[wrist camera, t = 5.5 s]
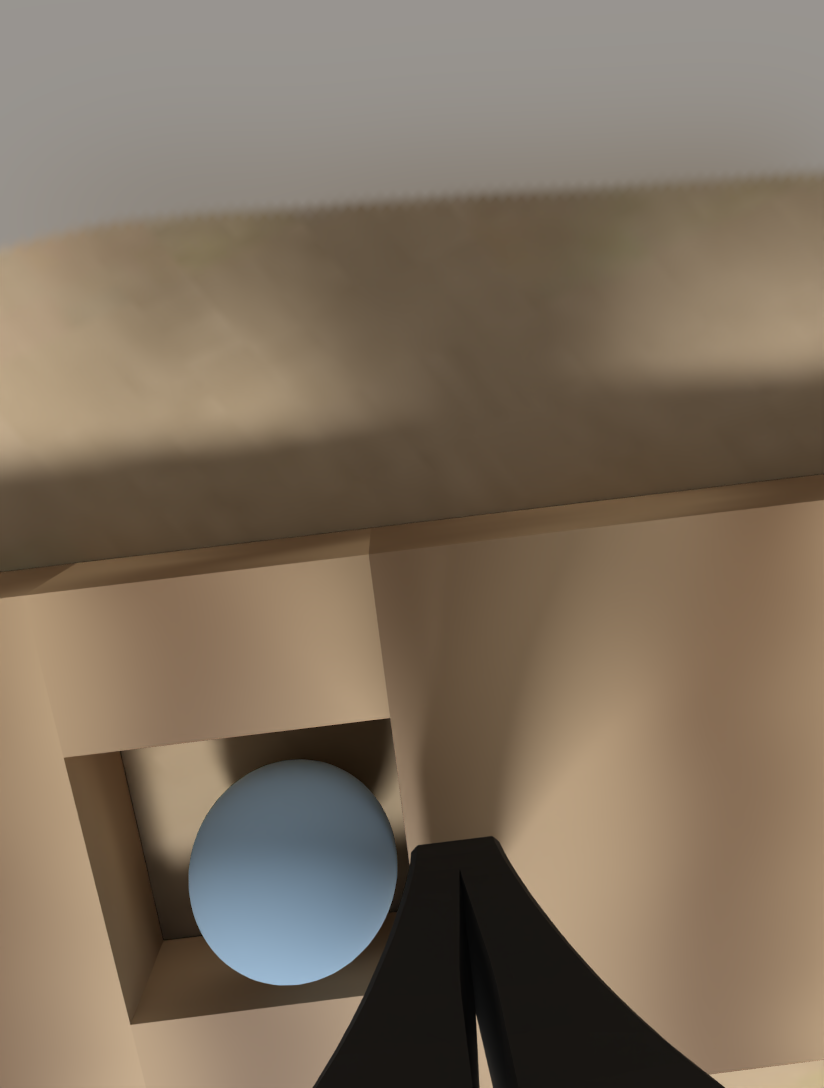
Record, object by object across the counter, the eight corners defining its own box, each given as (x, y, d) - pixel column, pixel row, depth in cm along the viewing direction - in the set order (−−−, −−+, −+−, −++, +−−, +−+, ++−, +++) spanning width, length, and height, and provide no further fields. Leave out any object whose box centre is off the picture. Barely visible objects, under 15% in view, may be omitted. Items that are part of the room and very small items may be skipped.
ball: (121, 819, 11) (257, 715, 15) (164, 1004, 12) (284, 867, 15) (311, 862, 10) (418, 735, 13) (346, 1071, 11) (438, 903, 14)
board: (1032, 449, 13) (1255, 474, 10) (989, 947, 16) (1155, 1104, 12) (-160, 590, 13) (-351, 666, 10) (-10, 1074, 16) (-119, 1268, 12)
